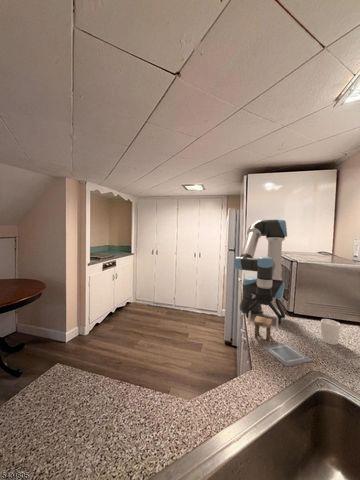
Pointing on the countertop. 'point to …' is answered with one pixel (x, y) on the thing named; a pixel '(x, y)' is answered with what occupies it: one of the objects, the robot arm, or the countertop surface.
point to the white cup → (330, 331)
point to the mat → (287, 354)
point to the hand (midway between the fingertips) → (262, 326)
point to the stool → (264, 323)
